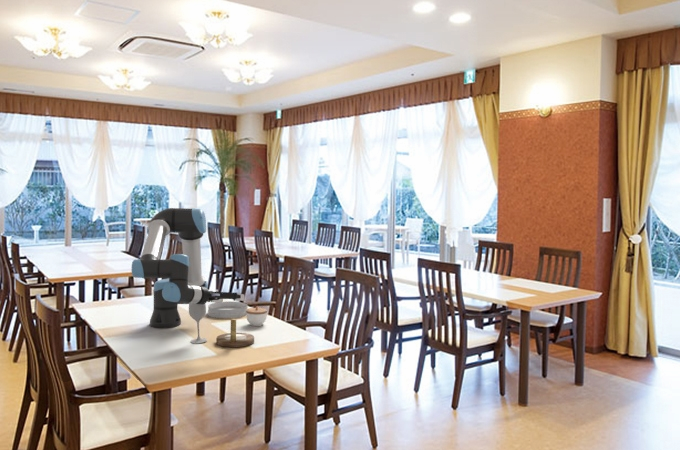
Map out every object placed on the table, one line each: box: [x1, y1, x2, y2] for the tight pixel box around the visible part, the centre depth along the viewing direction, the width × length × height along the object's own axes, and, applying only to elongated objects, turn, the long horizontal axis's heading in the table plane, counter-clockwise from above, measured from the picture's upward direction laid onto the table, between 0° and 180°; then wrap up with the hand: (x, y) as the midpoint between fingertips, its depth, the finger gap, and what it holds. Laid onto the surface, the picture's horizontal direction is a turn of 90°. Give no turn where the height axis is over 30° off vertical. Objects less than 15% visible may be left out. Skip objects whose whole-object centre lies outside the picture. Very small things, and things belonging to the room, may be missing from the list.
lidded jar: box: [246, 306, 268, 327], centre depth 275 cm, size 11×11×9 cm
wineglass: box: [188, 303, 208, 345], centre depth 241 cm, size 8×8×21 cm
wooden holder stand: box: [215, 318, 255, 348], centre depth 241 cm, size 17×17×12 cm
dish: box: [207, 301, 249, 319], centre depth 298 cm, size 22×22×5 cm
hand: (233, 298), depth 241 cm, fingers open, 13 cm apart
